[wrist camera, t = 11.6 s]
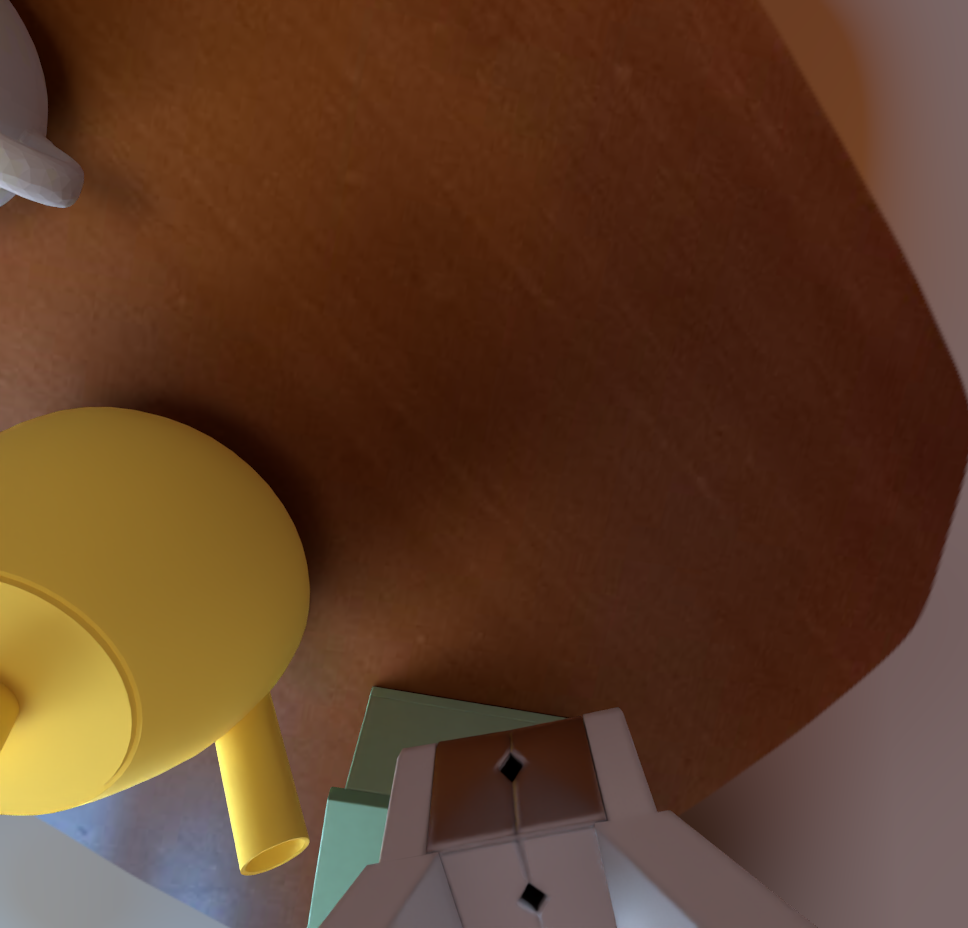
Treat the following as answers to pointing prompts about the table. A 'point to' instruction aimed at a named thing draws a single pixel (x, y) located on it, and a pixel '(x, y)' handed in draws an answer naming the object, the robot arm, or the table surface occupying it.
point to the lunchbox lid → (346, 846)
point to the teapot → (145, 619)
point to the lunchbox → (420, 730)
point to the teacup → (29, 124)
